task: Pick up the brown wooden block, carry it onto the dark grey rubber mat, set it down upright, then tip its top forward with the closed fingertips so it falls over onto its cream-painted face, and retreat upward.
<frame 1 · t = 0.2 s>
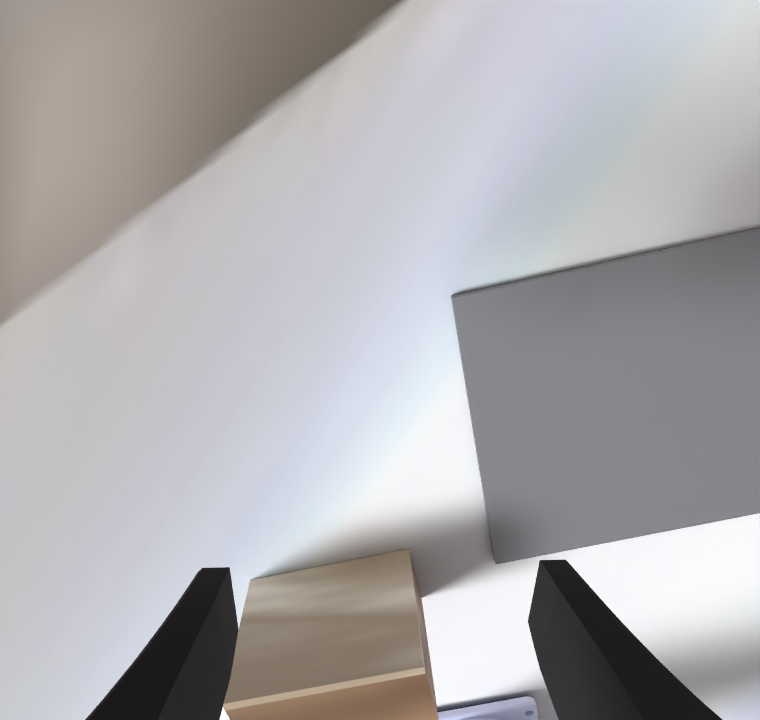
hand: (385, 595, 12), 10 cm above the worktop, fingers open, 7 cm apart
brown wooden block: (337, 588, 26), on the worktop
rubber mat: (634, 412, 22), on the worktop
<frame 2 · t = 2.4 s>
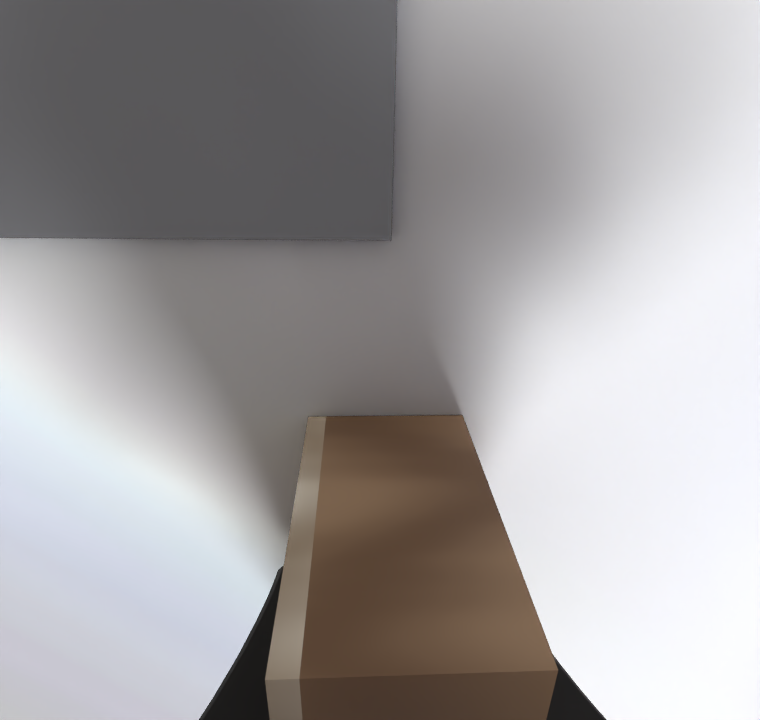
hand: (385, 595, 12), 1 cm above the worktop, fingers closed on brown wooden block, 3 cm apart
brown wooden block: (382, 549, 13), on the worktop, touching gripper
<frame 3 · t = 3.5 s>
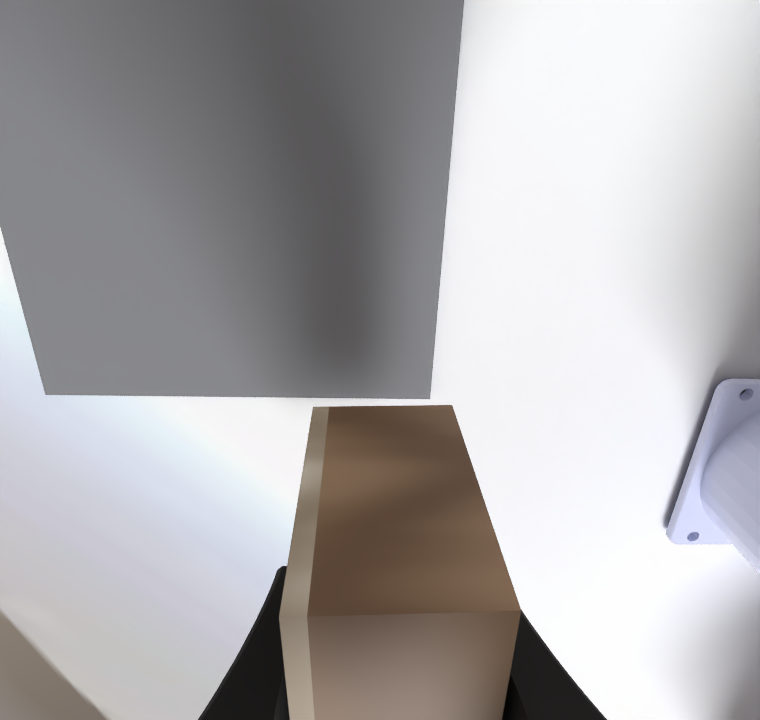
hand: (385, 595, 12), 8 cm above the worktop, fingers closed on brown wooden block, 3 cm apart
brown wooden block: (381, 528, 14), point 6 cm above the worktop, touching gripper
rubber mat: (226, 198, 16), on the worktop
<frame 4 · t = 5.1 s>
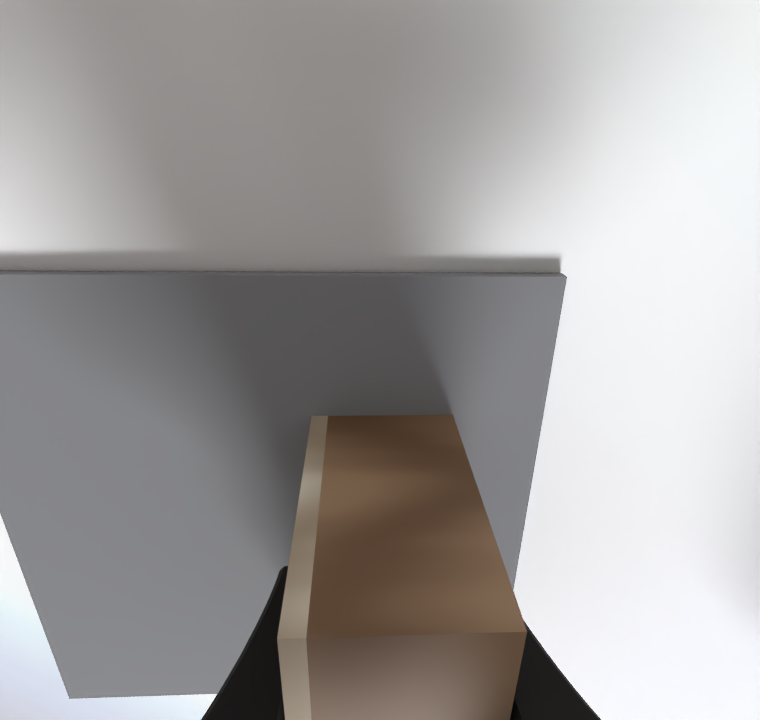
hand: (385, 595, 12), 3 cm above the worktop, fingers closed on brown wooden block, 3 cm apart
brown wooden block: (380, 539, 14), resting on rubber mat, touching gripper
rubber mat: (273, 519, 14), on the worktop
when the fingers open (3 cm above the worktop, at t = 5.4 s): brown wooden block stays where it is, resting on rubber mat.
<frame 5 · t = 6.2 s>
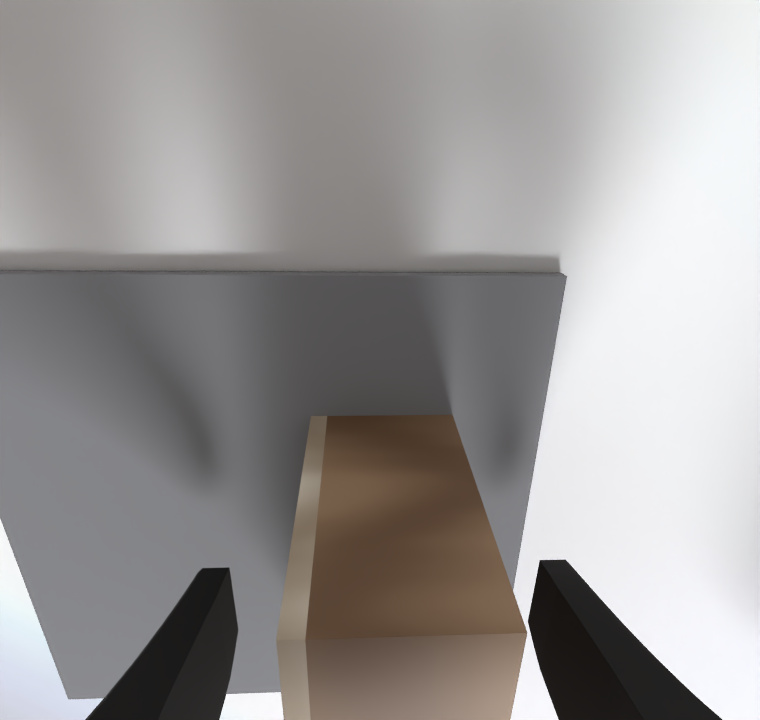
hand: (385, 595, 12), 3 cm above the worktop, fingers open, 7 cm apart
brown wooden block: (379, 539, 14), resting on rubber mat
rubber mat: (272, 519, 14), on the worktop
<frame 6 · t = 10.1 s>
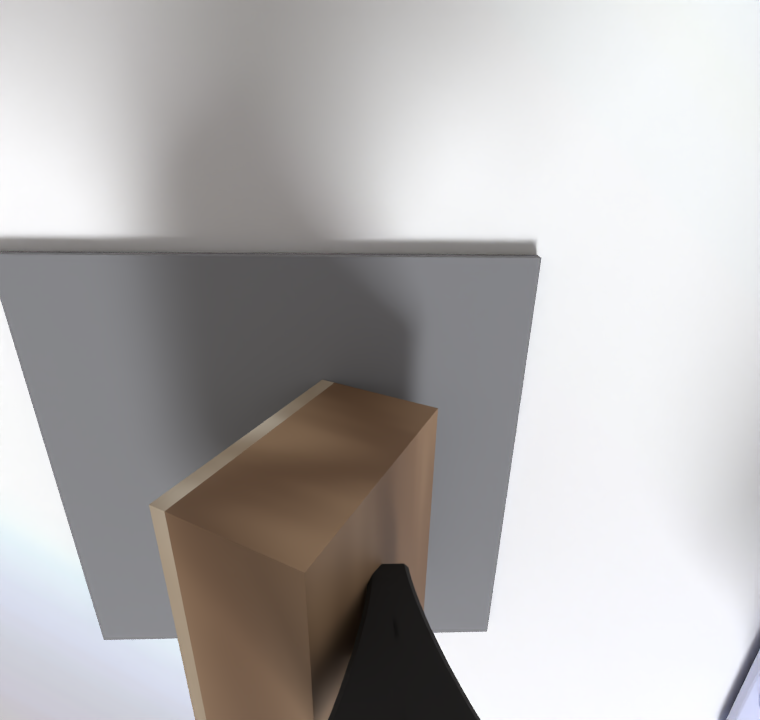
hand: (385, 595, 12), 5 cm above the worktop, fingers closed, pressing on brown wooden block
brown wooden block: (375, 510, 15), point 1 cm above the worktop, tilted 29°, touching gripper, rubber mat
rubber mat: (287, 474, 16), on the worktop
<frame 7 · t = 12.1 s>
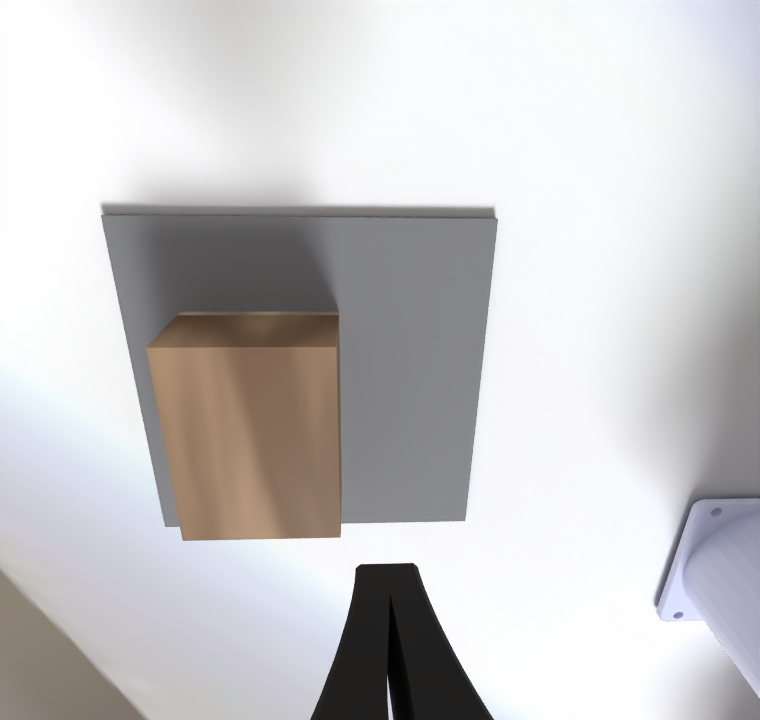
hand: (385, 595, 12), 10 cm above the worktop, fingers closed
brown wooden block: (339, 424, 20), point 2 cm above the worktop, tilted 90°, touching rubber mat
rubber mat: (311, 388, 21), on the worktop
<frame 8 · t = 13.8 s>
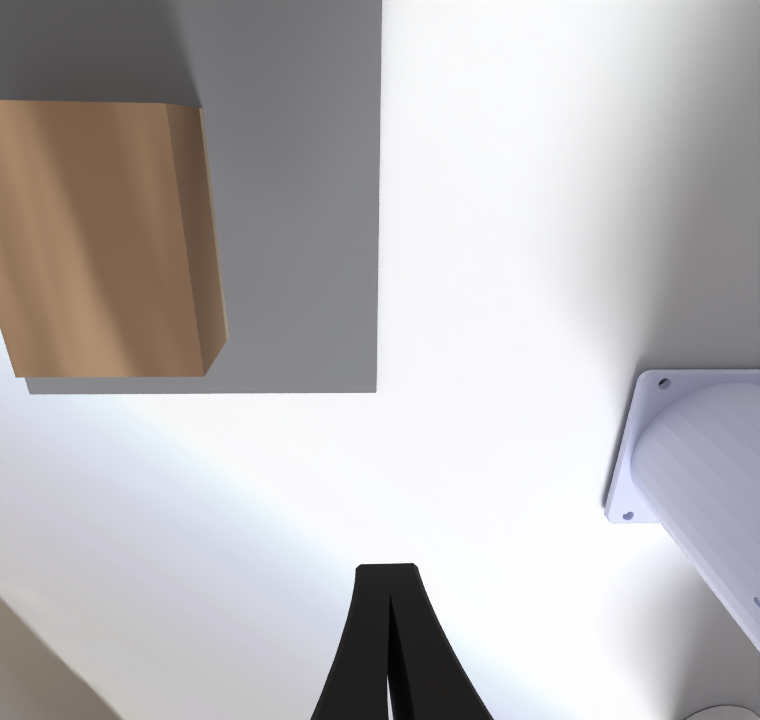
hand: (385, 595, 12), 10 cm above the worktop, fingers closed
brown wooden block: (203, 243, 17), point 2 cm above the worktop, tilted 90°, touching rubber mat
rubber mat: (183, 216, 18), on the worktop
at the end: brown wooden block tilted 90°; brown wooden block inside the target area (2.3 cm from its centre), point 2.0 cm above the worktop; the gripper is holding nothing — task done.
